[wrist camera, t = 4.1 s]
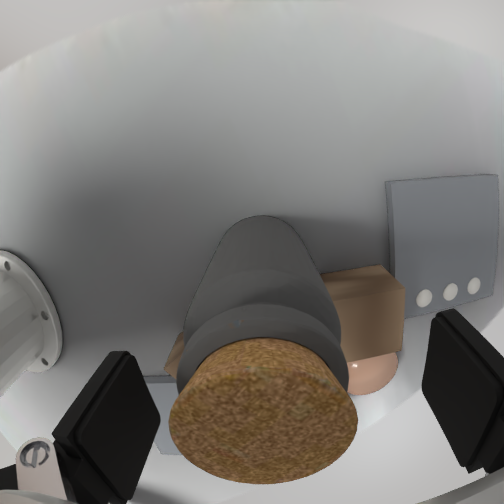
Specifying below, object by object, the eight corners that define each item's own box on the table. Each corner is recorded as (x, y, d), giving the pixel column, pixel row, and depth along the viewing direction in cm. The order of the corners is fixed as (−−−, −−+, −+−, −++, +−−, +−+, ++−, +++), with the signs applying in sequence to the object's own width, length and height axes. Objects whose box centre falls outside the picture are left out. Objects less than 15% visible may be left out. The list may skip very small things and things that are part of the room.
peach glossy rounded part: (333, 387, 24) (336, 399, 23) (335, 338, 23) (339, 349, 21) (388, 378, 24) (393, 389, 22) (394, 329, 23) (401, 339, 21)
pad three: (389, 315, 22) (394, 321, 21) (385, 181, 19) (391, 183, 18) (486, 290, 21) (492, 295, 20) (490, 173, 19) (498, 175, 18)
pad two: (163, 447, 27) (161, 454, 26) (128, 376, 24) (123, 384, 23) (258, 445, 26) (258, 454, 25) (240, 371, 24) (239, 379, 23)
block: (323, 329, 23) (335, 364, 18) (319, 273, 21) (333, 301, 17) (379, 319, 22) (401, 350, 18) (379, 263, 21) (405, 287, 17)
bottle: (320, 270, 21) (404, 445, 7) (248, 312, 22) (233, 507, 8) (275, 197, 20) (317, 292, 5) (200, 245, 21) (99, 401, 6)
